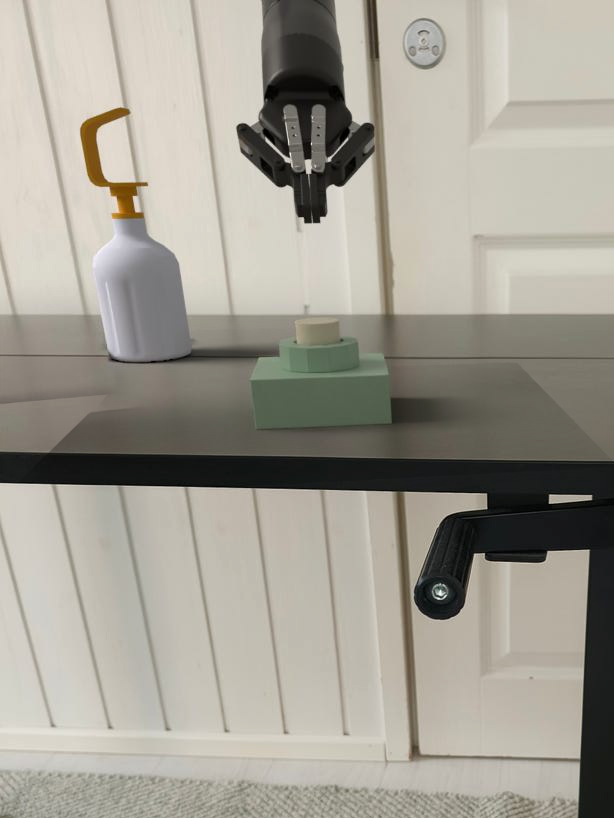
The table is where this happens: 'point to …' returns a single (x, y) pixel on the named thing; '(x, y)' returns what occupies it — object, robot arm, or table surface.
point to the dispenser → (320, 386)
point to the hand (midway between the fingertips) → (312, 216)
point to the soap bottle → (135, 273)
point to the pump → (317, 331)
